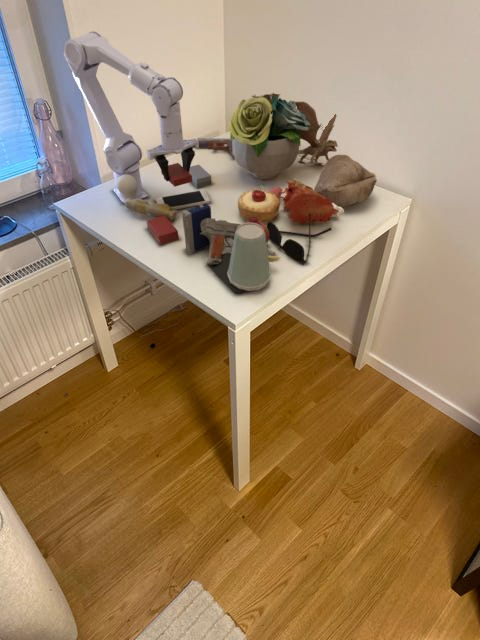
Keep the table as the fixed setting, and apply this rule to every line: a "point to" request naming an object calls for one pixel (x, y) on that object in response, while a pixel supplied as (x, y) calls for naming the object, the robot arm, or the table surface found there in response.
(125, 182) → the light bulb
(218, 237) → the pistol
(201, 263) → the table surface
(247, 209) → the pastry
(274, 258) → the fox
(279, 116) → the flower arrangement
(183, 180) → the oxblood book
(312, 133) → the dragon
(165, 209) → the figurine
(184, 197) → the smartphone
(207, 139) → the handgun
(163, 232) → the oxblood stack
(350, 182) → the seashell
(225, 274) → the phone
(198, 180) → the grey stack
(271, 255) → the toy
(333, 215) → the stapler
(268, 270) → the disposable coffee cup
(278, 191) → the figurine
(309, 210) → the seashell
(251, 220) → the fruit
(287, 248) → the sunglasses
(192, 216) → the cassette player
